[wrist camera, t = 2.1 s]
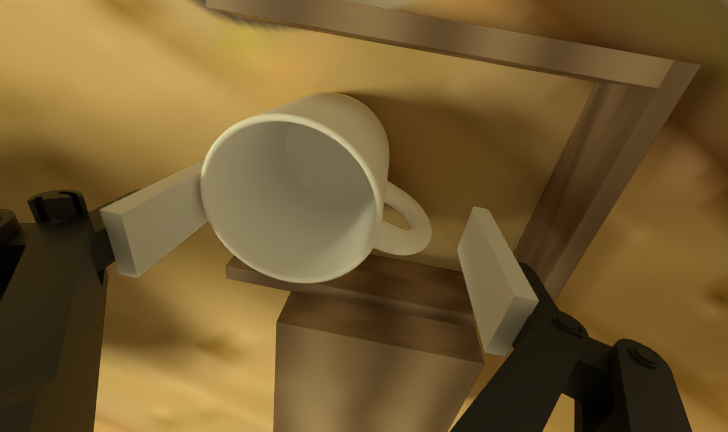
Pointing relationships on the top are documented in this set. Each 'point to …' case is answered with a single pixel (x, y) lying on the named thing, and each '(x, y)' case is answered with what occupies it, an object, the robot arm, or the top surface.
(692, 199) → the top surface
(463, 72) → the top surface
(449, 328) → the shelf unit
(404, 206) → the mug
